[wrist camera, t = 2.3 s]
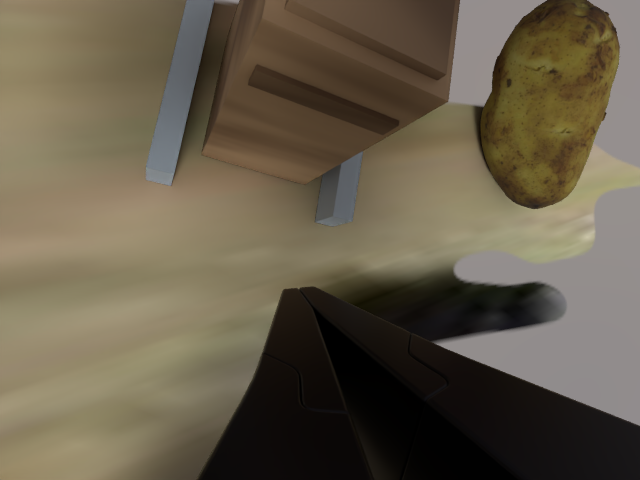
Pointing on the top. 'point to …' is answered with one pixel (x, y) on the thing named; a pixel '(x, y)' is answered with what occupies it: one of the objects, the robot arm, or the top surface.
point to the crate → (326, 80)
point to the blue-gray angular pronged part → (175, 107)
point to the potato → (549, 100)
